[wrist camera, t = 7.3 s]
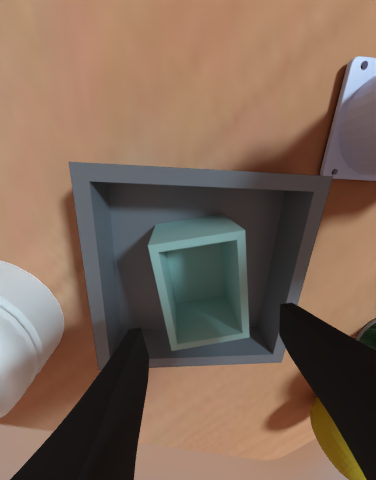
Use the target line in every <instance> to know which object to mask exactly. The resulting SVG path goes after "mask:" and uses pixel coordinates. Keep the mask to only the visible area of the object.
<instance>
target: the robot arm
mask: <svg viewBox="0 0 376 480" xmlns="http://www.w3.org/2000/svg"><path fill="white" fill-rule="evenodd" d="M361 65H362V69H361ZM332 170H334V173H333V174H332ZM320 176H333V178H332V179H349V180H367V181H376V58H372V57H363V56H357V57H355V58H354V59H352V60H351V61H350V62H349V63H348V65H347V68H346V72H345V76H344V80H343V84H342V88H341V91H340V95H339V99H338V103H337V107H336V111H335V115H334V119H333V123H332V127H331V131H330V135H329V139H328V143H327V147H326V150H325V154H324V158H323V162H322V166H321V170H320ZM279 336H280V338H281V340H282V342H283V344H284V345H285V347H286V349H287V351H288V353H289V355H290V356H291V358H292V360H293V361H294V363H295V364H296V366H297V367H298V369H299V370H300V372H301V373H302V375H303V376H304V378H305V379H306V380H307V382H308V383H309V385H310V386H311V388H312V389H313V391H314V392H315V394H316V395H317V397H318V398H319V400H320V401H321V403H322V404H323V406H324V407H325V409H326V410H327V412H328V413H329V415H330V417H331V418H332V420H333V421H334V423H335V425H336V427H337V428H338V430H339V432H340V433H341V435H342V437H343V439H344V440H345V442H346V444H347V446H348V447H349V449H350V451H351V453H352V454H353V456H354V458H355V460H356V462H357V463H358V465H359V467H360V469H361V471H362V472H363V474H364V476H365V478H366V480H376V350H374V349H372V348H371V347H369V346H367V345H365V344H363V343H361V342H359V341H357V340H356V339H354V338H352V337H350V336H348V335H346V334H345V333H343V332H341V331H339V330H338V329H336V328H334V327H332V326H331V325H329V324H327V323H326V322H324V321H322V320H321V319H319V318H317V317H316V316H314V315H312V314H311V313H309V312H307V311H306V310H304V309H302V308H301V307H299V306H297V305H295V304H294V303H292V302H291V303H285V304H280V323H279ZM148 372H149V354H148V351H147V347H146V343H145V340H144V336H143V333H142V329H141V328H135V329H129V330H128V331H127V333H126V334H125V336H124V337H123V339H122V341H121V342H120V344H119V345H118V347H117V348H116V350H115V351H114V353H113V354H112V356H111V357H110V359H109V360H108V362H107V363H106V365H105V366H104V368H103V369H102V370H101V372H100V373H99V375H98V376H97V378H96V379H95V380H94V382H93V383H92V384H91V386H90V387H89V388H88V390H87V391H86V392H85V394H84V395H83V396H82V398H81V399H80V400H79V402H78V403H77V404H76V405H75V407H74V408H73V409H72V410H71V412H70V413H69V414H68V415H67V417H66V418H65V419H64V420H63V421H62V423H61V424H60V425H59V426H58V427H57V429H56V430H55V431H54V432H53V433H52V434H51V436H50V437H49V438H48V439H47V440H46V441H45V442H44V444H43V445H42V446H41V447H40V448H39V449H38V450H37V451H36V452H35V453H34V454H33V456H32V457H31V458H30V459H29V460H28V461H27V462H26V463H25V464H24V466H23V467H22V468H21V469H20V470H19V471H18V472H17V473H16V474H15V475H14V476H13V477H12V479H10V480H134V470H135V461H136V452H137V445H138V438H139V432H140V426H141V420H142V414H143V408H144V402H145V396H146V390H147V383H148Z"/></svg>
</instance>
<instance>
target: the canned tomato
mask: <svg viewBox="0 0 376 480" xmlns="http://www.w3.org/2000/svg"><path fill="white" fill-rule="evenodd" d="M356 340H357V341H359V342H361V343H363V344H365V345H367V346H369V347H371V348H372V349H374V350H376V318H375V319H374V320H372V321H371V322H369V323H368V324H367V325H366V326H364V327H363V328H362V329H361V331H360V332H359V333H358V335H357V337H356Z"/></svg>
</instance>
